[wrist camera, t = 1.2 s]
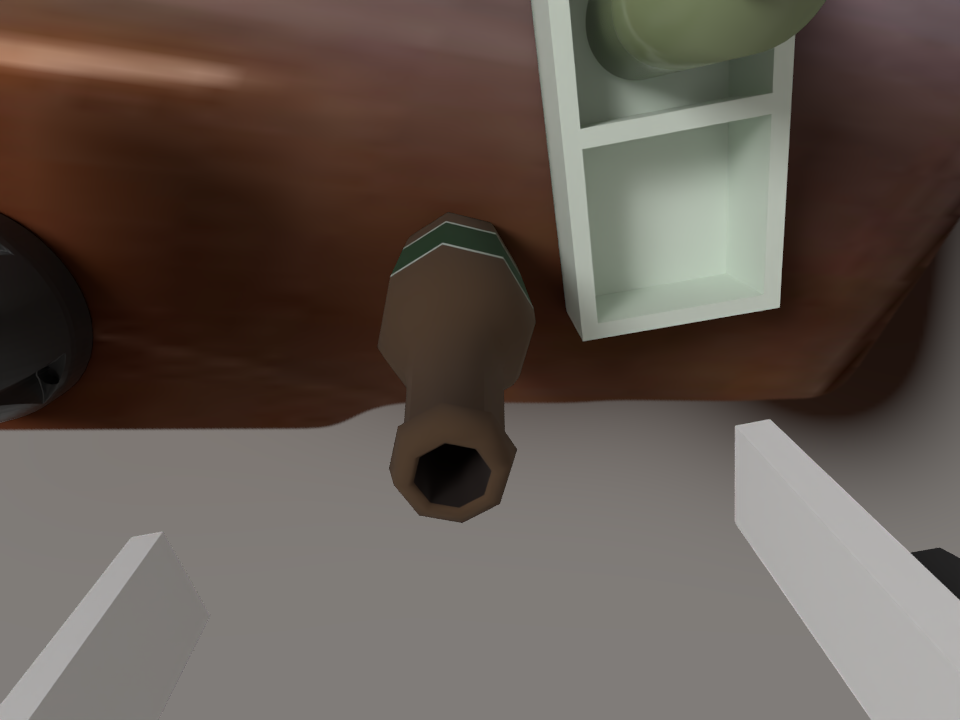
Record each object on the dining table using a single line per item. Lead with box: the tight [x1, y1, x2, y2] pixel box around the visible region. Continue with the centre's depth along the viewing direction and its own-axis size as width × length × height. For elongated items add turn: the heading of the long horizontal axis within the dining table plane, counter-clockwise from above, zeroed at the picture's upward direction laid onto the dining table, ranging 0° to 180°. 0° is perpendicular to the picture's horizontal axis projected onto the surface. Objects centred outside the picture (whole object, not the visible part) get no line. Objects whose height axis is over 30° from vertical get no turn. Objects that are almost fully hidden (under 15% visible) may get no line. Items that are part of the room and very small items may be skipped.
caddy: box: [531, 0, 795, 341], centre depth 31 cm, size 12×23×6 cm, turn 10°
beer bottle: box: [378, 212, 536, 523], centre depth 26 cm, size 8×8×24 cm
